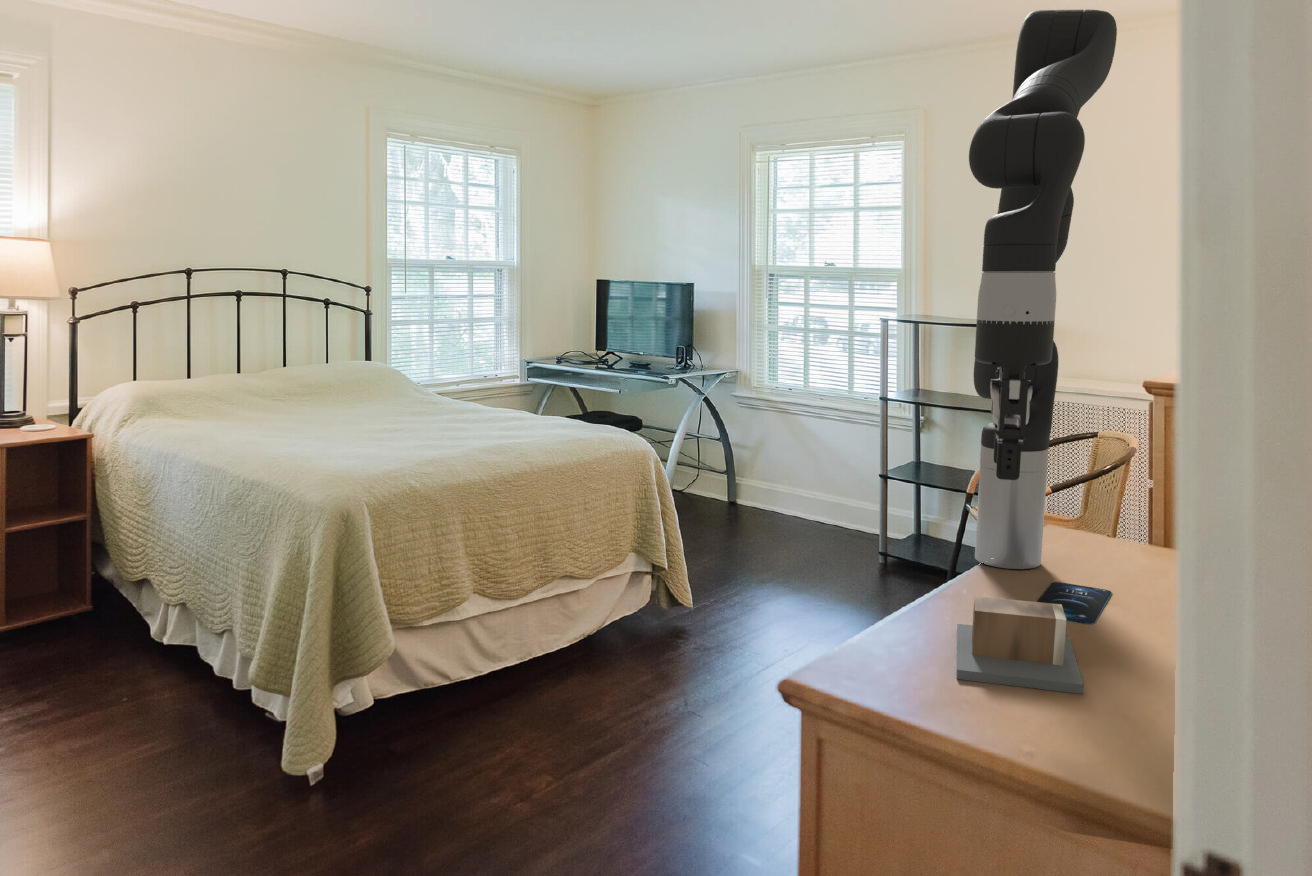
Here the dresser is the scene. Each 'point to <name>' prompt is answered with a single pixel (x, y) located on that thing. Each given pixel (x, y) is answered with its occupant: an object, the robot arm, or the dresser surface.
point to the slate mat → (1017, 668)
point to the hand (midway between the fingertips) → (1005, 471)
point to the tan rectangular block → (1018, 630)
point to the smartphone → (1077, 601)
